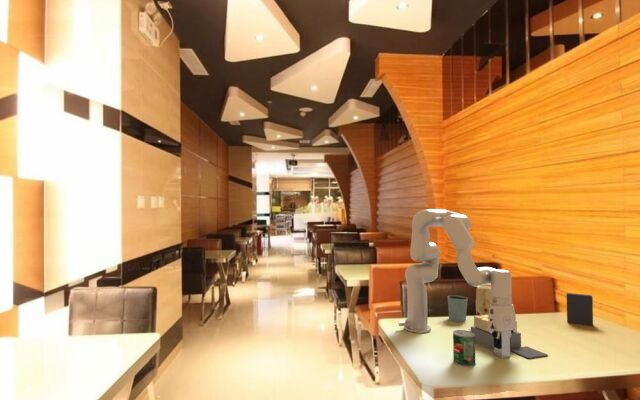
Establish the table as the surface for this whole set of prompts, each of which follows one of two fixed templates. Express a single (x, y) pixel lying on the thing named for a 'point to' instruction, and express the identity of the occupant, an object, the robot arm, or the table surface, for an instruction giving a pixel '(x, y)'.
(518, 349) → the pad
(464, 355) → the canned tomato
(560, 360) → the table surface
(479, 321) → the wooden block with hole
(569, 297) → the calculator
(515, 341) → the grey square block
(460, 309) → the blue-grey cup
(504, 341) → the light grey tall block
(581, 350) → the table surface
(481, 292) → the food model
